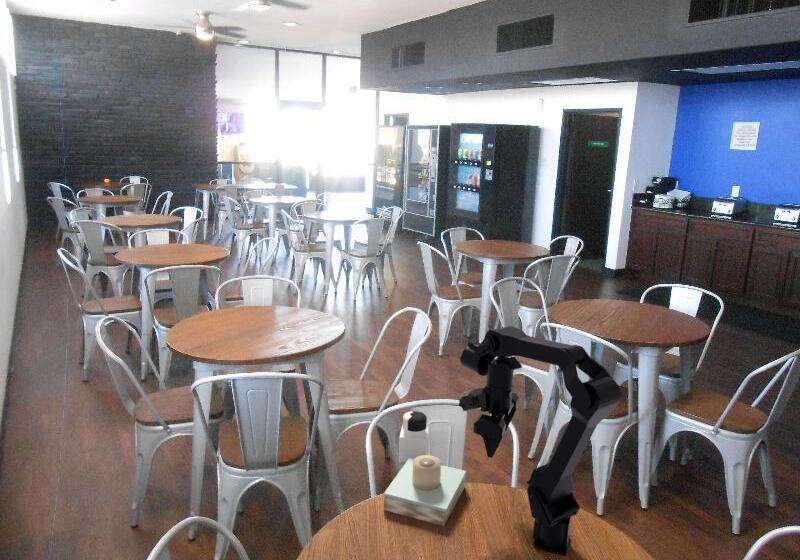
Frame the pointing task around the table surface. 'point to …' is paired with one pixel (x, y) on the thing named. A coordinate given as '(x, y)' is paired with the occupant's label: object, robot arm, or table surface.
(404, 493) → the lid
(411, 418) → the medicine bottle
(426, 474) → the cream dome knob
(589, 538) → the table surface
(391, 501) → the box
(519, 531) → the table surface
